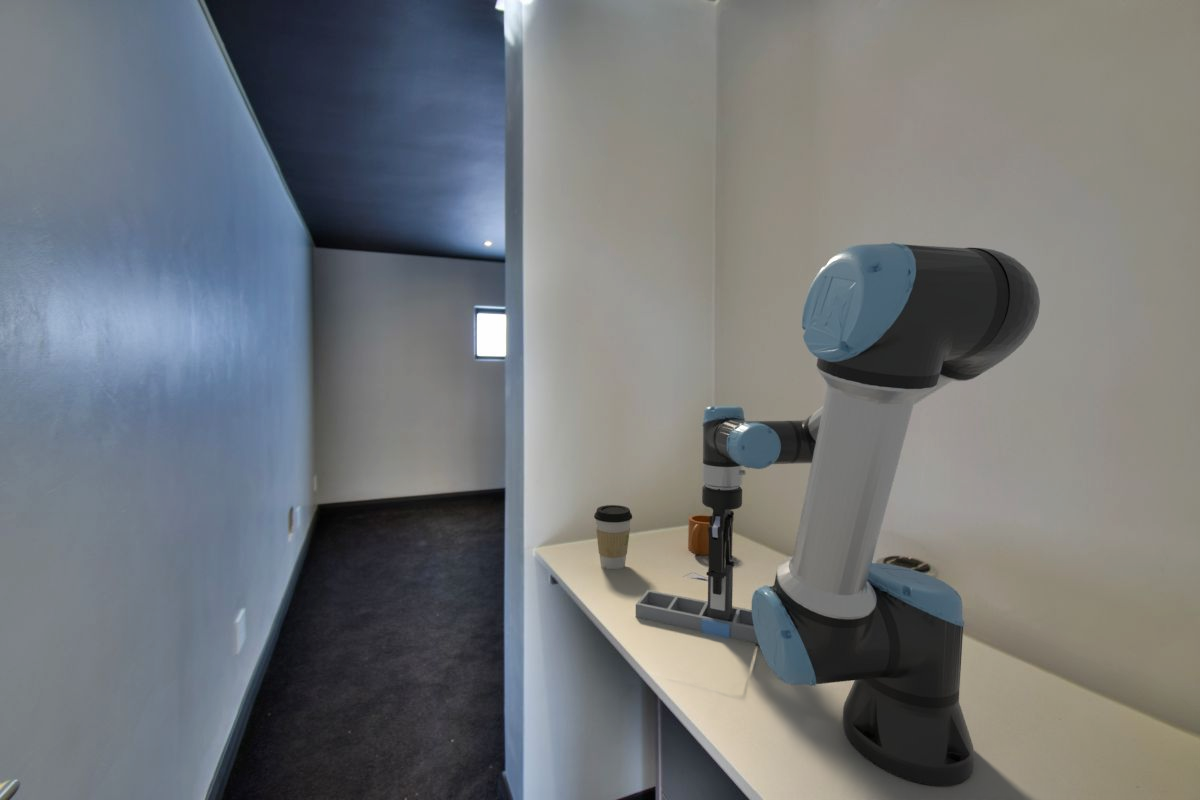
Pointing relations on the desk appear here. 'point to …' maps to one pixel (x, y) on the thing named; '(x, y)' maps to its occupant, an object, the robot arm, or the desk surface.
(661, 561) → the desk surface
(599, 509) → the coffee cup
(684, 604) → the compartment organizer tray
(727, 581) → the grey block with peg
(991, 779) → the desk surface
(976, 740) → the desk surface
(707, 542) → the mug
